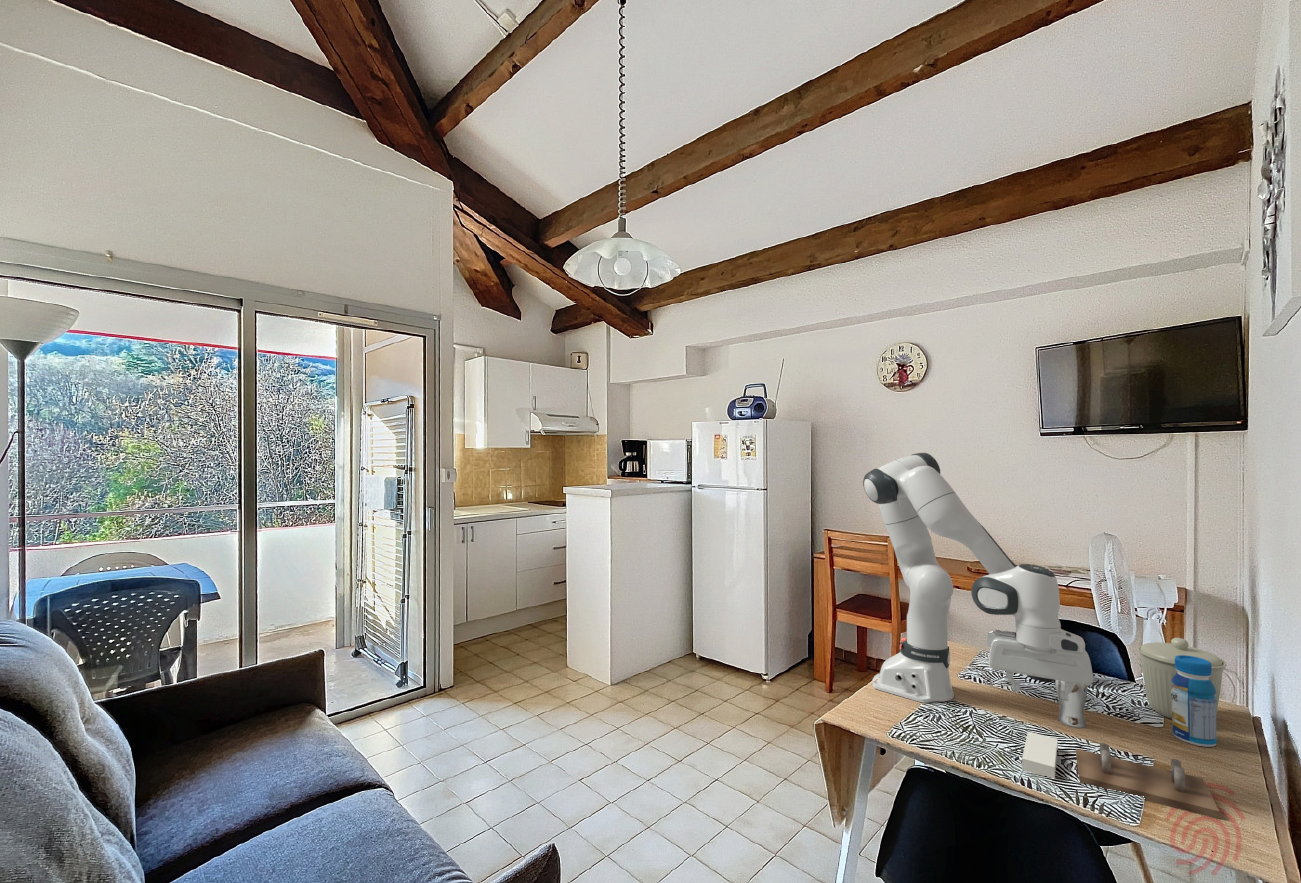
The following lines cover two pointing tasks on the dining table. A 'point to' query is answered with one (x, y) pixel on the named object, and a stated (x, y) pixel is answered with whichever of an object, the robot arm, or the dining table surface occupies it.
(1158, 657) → the canister
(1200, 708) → the beverage bottle
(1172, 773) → the peg stand
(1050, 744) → the shelf board
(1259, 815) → the dining table surface
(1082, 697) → the beer glass
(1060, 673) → the robot arm
